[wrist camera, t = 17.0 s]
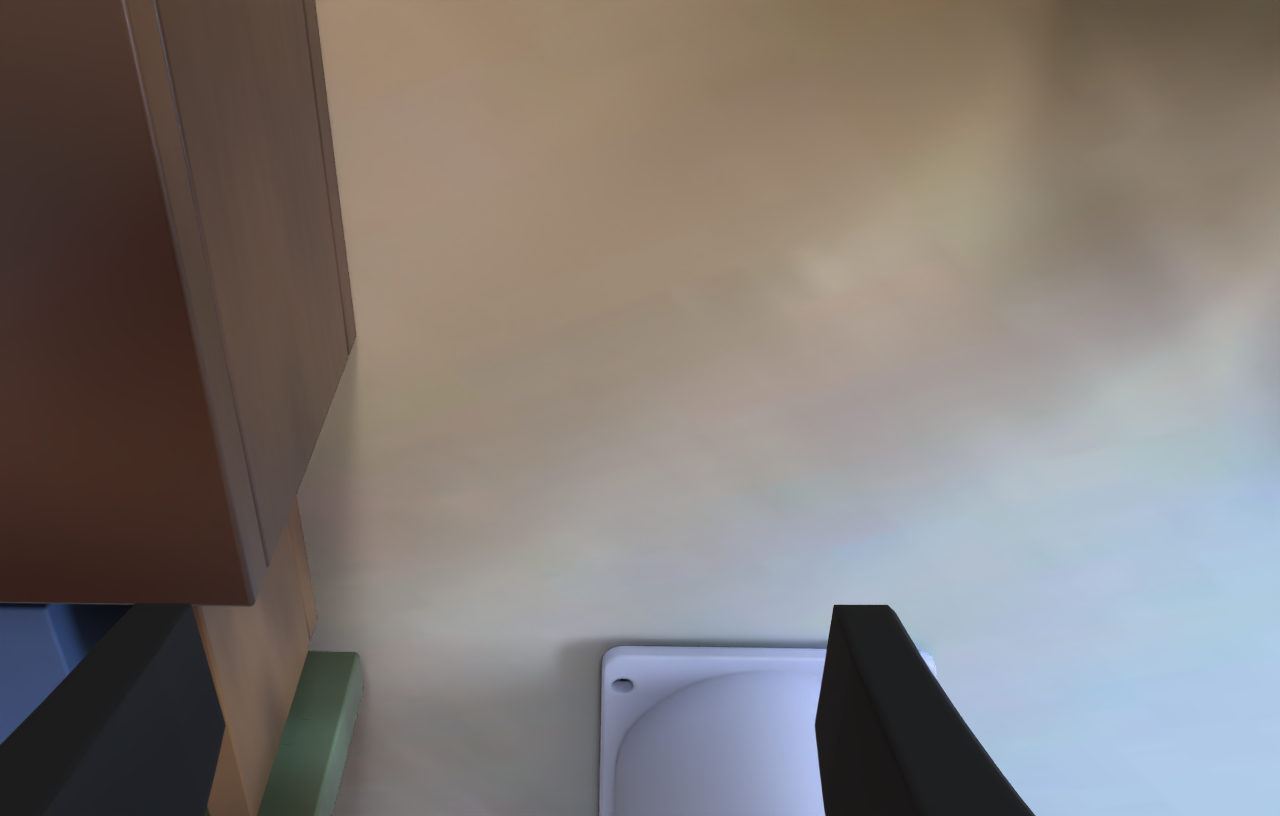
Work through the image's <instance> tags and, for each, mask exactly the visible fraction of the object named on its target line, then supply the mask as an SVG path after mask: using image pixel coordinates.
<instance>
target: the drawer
mask: <svg viewBox="0 0 1280 816" xmlns="http://www.w3.org/2000/svg"><path fill="white" fill-rule="evenodd" d="M192 608H193V612H194V615H195V619H196V622H197V626H198V629H199V633H200V636H201V640H202V643H203V647H204V650H205V654H206V657H207V661H208V664H209V668H210V671H211V675H212V678H213V682H214V686H215V689H216V693H217V696H218V700H219V703H220V707H221V710H222V714H223V717H224V721H225V724H226V726H225V731H224V735H223V740H222V744H221V749H220V754H219V758H218V763H217V767H216V772H215V776H214V780H213V784H212V788H211V792H210V796H209V800H208V804H207V808H206V812H205V815H204V816H332V815H333V811H334V807H335V803H336V799H337V795H338V791H339V787H340V783H341V779H342V775H343V771H344V767H345V762H346V758H347V754H348V750H349V746H350V742H351V738H352V734H353V730H354V726H355V722H356V718H357V714H358V710H359V706H360V702H361V697H362V693H363V689H364V683H363V676H362V669H361V663H360V656H359V654H358V653H357V652H312V651H308V650H309V646H310V640H311V638H312V635H313V631H314V628H315V625H316V622H317V619H318V617H317V612H316V606H315V600H314V594H313V589H312V583H311V577H310V571H309V566H308V560H307V554H306V548H305V543H304V537H303V531H302V525H301V520H300V514H299V508H298V502H297V497H295V500H294V502H293V505H292V508H291V510H290V513H289V515H288V518H287V521H286V523H285V526H284V529H283V531H282V534H281V537H280V539H279V542H278V544H277V547H276V550H275V552H274V555H273V558H272V560H271V563H270V566H269V567H268V568H267V573H266V576H265V579H264V581H263V584H262V587H261V589H260V592H259V595H258V597H257V600H256V602H255V604H254V605H253V606H251V607H233V606H192Z"/></svg>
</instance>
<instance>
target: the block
mask: <svg viewBox="0 0 1280 816" xmlns="http://www.w3.org/2000/svg"><path fill="white" fill-rule="evenodd" d="M133 606H134V605H100V604H34V603H0V744H1V743H2V742H3V741H4V740H5V739H6V738H7V737H8V736H9V735H10V734H11V733H12V732H13V731H14V730H15V729H16V728H17V727H18V726H19V725H20V724H21V723H22V722H23V721H24V720H25V719H26V718H27V717H28V716H29V715H30V714H31V713H32V712H33V711H34V710H35V709H36V708H37V707H38V706H39V705H40V704H41V703H42V702H43V701H44V700H45V698H46V697H47V696H48V695H49V694H50V693H51V692H52V691H53V690H54V689H55V688H56V687H57V686H58V685H59V684H60V683H61V682H62V681H63V679H64V678H65V677H66V676H67V675H68V674H69V673H70V672H71V671H72V670H73V669H74V668H75V667H76V666H77V665H78V664H79V662H80V661H81V660H82V659H83V658H84V657H85V656H86V655H87V654H88V653H89V652H90V651H91V650H92V649H93V647H94V646H95V645H96V644H97V643H98V642H99V641H100V640H101V639H102V638H103V637H104V636H105V635H106V634H107V632H108V631H109V630H110V629H111V628H112V627H113V626H114V625H115V624H116V623H117V622H118V621H119V620H120V619H121V618H122V617H123V616H124V615H125V614H126V613H127V612H128V611H129V610H130V609H131V608H132V607H133Z"/></svg>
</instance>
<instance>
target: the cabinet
mask: <svg viewBox="0 0 1280 816" xmlns="http://www.w3.org/2000/svg"><path fill="white" fill-rule="evenodd" d="M355 338H356V330H355V322H354V314H353V306H352V298H351V289H350V281H349V273H348V265H347V257H346V249H345V241H344V233H343V225H342V217H341V209H340V201H339V193H338V185H337V177H336V169H335V161H334V152H333V144H332V136H331V128H330V120H329V112H328V104H327V96H326V88H325V80H324V72H323V64H322V56H321V48H320V40H319V32H318V23H317V15H316V7H315V0H0V603H34V604H100V605H135V604H136V603H191V605H192V606H233V607H251V606H253V605H254V604H255V602H256V600H257V597H258V595H259V592H260V589H261V587H262V584H263V581H264V579H265V576H266V573H267V568H268V567H269V566H270V563H271V560H272V558H273V555H274V552H275V550H276V547H277V544H278V542H279V539H280V537H281V534H282V531H283V529H284V526H285V523H286V521H287V518H288V515H289V513H290V510H291V508H292V505H293V502H294V500H295V497H296V494H297V492H298V489H299V486H300V484H301V481H302V479H303V476H304V473H305V471H306V468H307V465H308V463H309V460H310V457H311V455H312V452H313V450H314V447H315V444H316V442H317V439H318V436H319V434H320V431H321V428H322V426H323V423H324V421H325V418H326V415H327V413H328V410H329V407H330V405H331V402H332V399H333V397H334V394H335V392H336V389H337V386H338V384H339V381H340V378H341V376H342V373H343V370H344V368H345V365H346V362H347V360H348V356H349V354H350V352H351V349H352V346H353V344H354V341H355Z"/></svg>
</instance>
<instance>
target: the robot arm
mask: <svg viewBox="0 0 1280 816" xmlns="http://www.w3.org/2000/svg"><path fill="white" fill-rule="evenodd" d="M935 677H936V667H935V664H934V660H933V658H932V657H931V655H930V654H928V653H926V652H924V651H919V650H917V648H916V646H915V645H914V643H913V641H912V640H911V638H910V636H909V635H908V633H907V631H906V630H905V628H904V626H903V625H902V623H901V621H900V619H899V618H898V616H897V614H896V613H895V612H894V611H893V610H892V609H891V608H890V607H889V606H888V605H834V608H833V614H832V620H831V626H830V632H829V639H828V645H827V649H809V648H739V647H669V646H618V647H614V648H612V649H610V650H608V651H607V652H606V653H605V654H604V656H603V659H602V689H601V743H600V797H599V816H1035V815H1034V813H1033V812H1032V811H1031V810H1030V808H1029V807H1028V806H1027V805H1026V803H1025V802H1024V801H1023V800H1022V798H1021V797H1020V796H1019V795H1018V793H1017V792H1016V791H1015V789H1014V788H1013V787H1012V786H1011V784H1010V783H1009V782H1008V780H1007V779H1006V778H1005V776H1004V775H1003V774H1002V772H1001V771H1000V770H999V768H998V767H997V766H996V764H995V763H994V762H993V760H992V759H991V757H990V756H989V755H988V753H987V752H986V750H985V749H984V748H983V746H982V745H981V744H980V742H979V741H978V739H977V738H976V737H975V735H974V734H973V733H972V731H971V730H970V728H969V727H968V726H967V724H966V723H965V721H964V720H963V718H962V717H961V716H960V714H959V713H958V711H957V710H956V708H955V707H954V705H953V704H952V702H951V701H950V699H949V698H948V696H947V695H946V693H945V692H944V690H943V689H942V687H941V686H940V684H939V683H938V681H937V680H936V678H935ZM622 678H623V679H628V681H618V680H617V679H622ZM225 726H226V724H225V721H224V717H223V714H222V710H221V707H220V703H219V700H218V696H217V693H216V689H215V686H214V682H213V678H212V675H211V671H210V668H209V664H208V661H207V657H206V654H205V650H204V647H203V643H202V640H201V636H200V633H199V629H198V626H197V622H196V619H195V615H194V612H193V608H192V605H191V603H136V604H135V605H134V606H133V607H132V608H131V609H130V610H129V611H128V612H127V613H126V614H125V615H124V616H123V617H122V618H121V619H120V620H119V621H118V622H117V623H116V624H115V625H114V626H113V627H112V628H111V629H110V630H109V631H108V632H107V634H106V635H105V636H104V637H103V638H102V639H101V640H100V641H99V642H98V643H97V644H96V645H95V646H94V647H93V649H92V650H91V651H90V652H89V653H88V654H87V655H86V656H85V657H84V658H83V659H82V660H81V661H80V662H79V664H78V665H77V666H76V667H75V668H74V669H73V670H72V671H71V672H70V673H69V674H68V675H67V676H66V677H65V678H64V679H63V681H62V682H61V683H60V684H59V685H58V686H57V687H56V688H55V689H54V690H53V691H52V692H51V693H50V694H49V695H48V696H47V697H46V698H45V700H44V701H43V702H42V703H41V704H40V705H39V706H38V707H37V708H36V709H35V710H34V711H33V712H32V713H31V714H30V715H29V716H28V717H27V718H26V719H25V720H24V721H23V722H22V723H21V724H20V725H19V726H18V727H17V728H16V729H15V730H14V731H13V732H12V733H11V734H10V735H9V736H8V737H7V738H6V739H5V740H4V741H3V742H2V743H1V744H0V816H204V815H205V812H206V808H207V804H208V800H209V796H210V792H211V788H212V784H213V780H214V776H215V772H216V767H217V763H218V758H219V754H220V749H221V744H222V740H223V735H224V731H225Z"/></svg>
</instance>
